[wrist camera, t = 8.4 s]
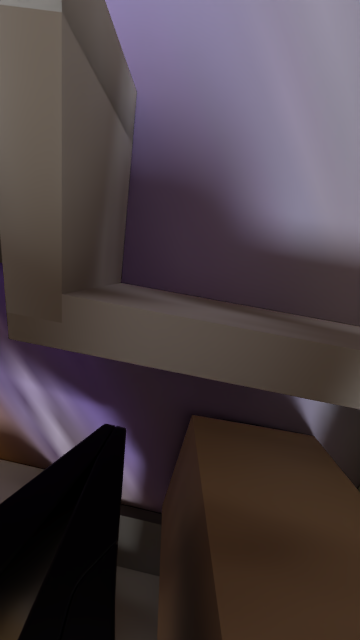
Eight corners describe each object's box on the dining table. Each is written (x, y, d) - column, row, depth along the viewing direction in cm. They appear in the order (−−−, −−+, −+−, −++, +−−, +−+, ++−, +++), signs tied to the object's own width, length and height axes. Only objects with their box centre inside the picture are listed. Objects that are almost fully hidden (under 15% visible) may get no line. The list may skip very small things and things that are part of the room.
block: (267, 517, 9) (436, 973, 3) (162, 505, 8) (142, 1028, 3) (313, 435, 8) (752, 974, 2) (192, 414, 7) (282, 1088, 1)
